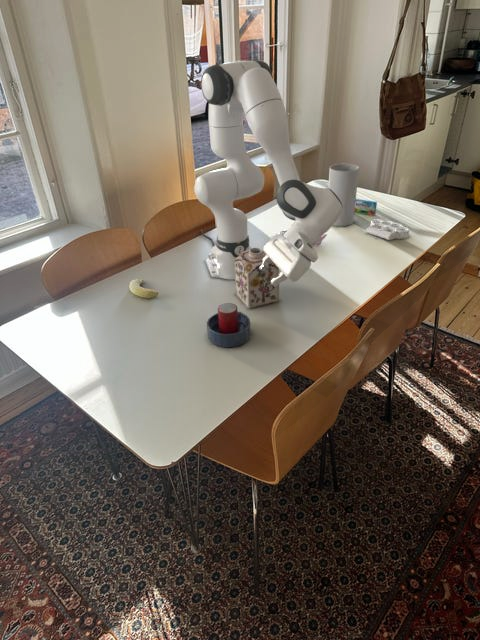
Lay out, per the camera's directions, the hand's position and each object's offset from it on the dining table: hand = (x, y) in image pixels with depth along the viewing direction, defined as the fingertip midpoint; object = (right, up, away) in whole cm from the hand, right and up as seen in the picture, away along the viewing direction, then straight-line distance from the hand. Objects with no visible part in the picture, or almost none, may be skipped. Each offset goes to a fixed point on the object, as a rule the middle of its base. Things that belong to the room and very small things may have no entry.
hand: (266, 277), depth 134 cm
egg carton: (+56, +25, +67) cm, 91 cm away
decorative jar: (-2, -5, +25) cm, 26 cm away
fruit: (-42, -2, +32) cm, 53 cm away
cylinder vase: (+39, +33, +80) cm, 94 cm away
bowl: (-11, -17, +7) cm, 22 cm away
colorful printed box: (+52, +39, +88) cm, 109 cm away
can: (-11, -17, +6) cm, 21 cm away
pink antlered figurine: (+24, +19, +59) cm, 66 cm away
